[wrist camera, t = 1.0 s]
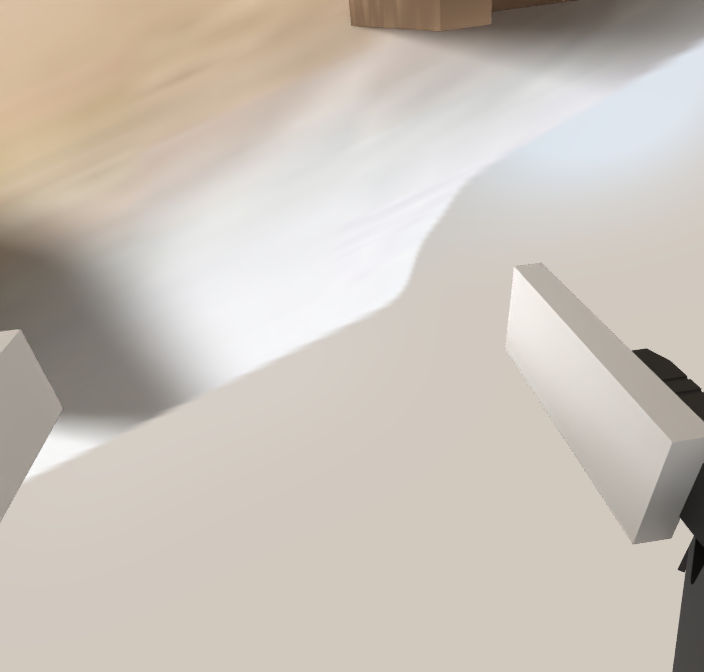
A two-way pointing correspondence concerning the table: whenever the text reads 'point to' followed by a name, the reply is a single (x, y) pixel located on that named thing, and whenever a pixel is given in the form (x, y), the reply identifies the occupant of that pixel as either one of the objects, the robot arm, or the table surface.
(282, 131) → the table surface
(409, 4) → the walnut shelf
